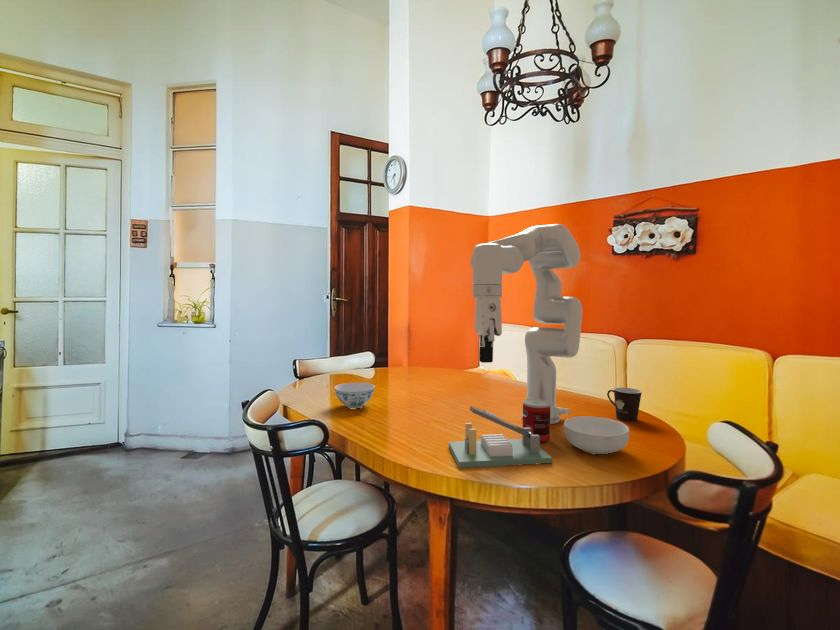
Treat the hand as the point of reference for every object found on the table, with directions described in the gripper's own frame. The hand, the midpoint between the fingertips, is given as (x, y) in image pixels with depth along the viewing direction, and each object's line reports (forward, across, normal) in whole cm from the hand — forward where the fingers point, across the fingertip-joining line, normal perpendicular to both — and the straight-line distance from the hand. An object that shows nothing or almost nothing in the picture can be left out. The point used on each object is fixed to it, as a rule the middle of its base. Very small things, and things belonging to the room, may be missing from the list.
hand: (486, 361), depth 109 cm
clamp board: (+25, 0, -4) cm, 25 cm away
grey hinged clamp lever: (+17, 0, -5) cm, 18 cm away
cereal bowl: (+25, +1, -32) cm, 41 cm away
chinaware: (+25, +51, +36) cm, 68 cm away
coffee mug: (+25, +28, -58) cm, 69 cm away
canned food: (+25, +11, -19) cm, 33 cm away
